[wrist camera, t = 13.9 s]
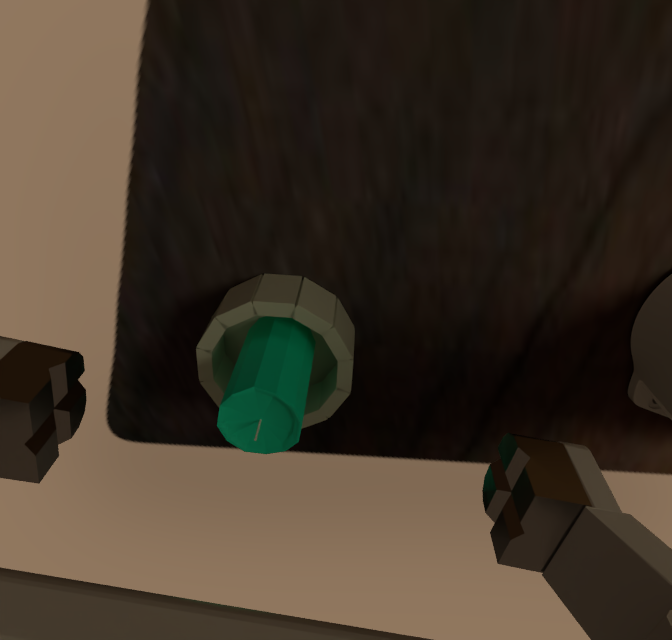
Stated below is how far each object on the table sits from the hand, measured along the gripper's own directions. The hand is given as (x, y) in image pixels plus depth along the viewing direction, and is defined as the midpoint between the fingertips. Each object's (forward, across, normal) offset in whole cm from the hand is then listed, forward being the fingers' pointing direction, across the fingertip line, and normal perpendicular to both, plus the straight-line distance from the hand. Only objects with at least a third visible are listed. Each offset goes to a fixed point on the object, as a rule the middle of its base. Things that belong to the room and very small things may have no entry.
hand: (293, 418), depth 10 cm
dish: (+31, +2, +18) cm, 36 cm away
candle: (+30, +2, +18) cm, 36 cm away
